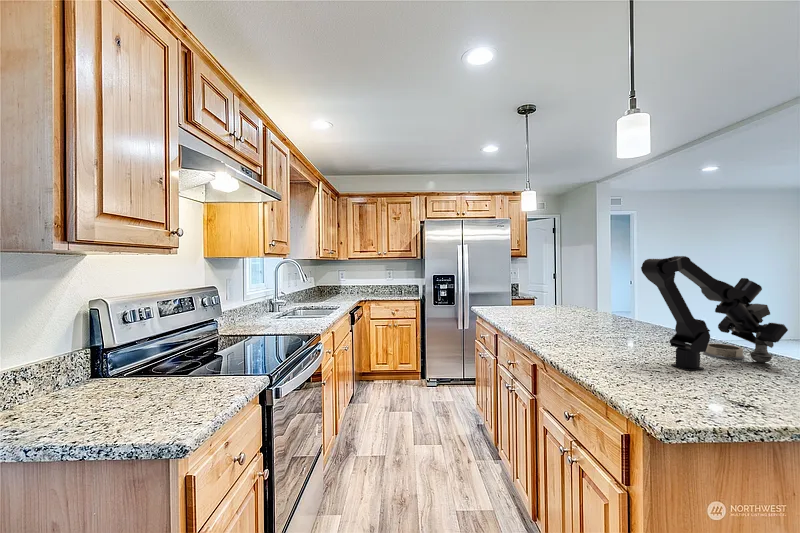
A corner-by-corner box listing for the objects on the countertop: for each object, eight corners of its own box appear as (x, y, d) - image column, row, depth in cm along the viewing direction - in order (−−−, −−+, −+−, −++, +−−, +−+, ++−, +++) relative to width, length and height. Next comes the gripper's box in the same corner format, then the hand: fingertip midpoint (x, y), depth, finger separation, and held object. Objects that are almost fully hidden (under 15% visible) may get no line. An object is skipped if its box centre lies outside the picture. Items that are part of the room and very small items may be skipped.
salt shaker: (762, 362, 135) (763, 327, 135) (777, 367, 129) (778, 331, 129) (744, 362, 136) (745, 327, 135) (758, 366, 130) (759, 330, 129)
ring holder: (728, 360, 137) (728, 351, 137) (695, 352, 148) (695, 344, 148) (752, 358, 140) (753, 349, 140) (719, 350, 151) (719, 342, 151)
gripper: (783, 299, 122) (812, 333, 124) (725, 293, 140) (751, 323, 142) (761, 324, 121) (790, 358, 123) (705, 315, 139) (731, 345, 141)
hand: (764, 345), depth 132 cm, fingers open, 4 cm apart
